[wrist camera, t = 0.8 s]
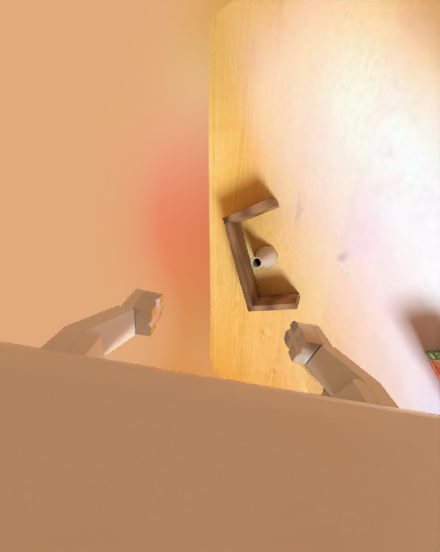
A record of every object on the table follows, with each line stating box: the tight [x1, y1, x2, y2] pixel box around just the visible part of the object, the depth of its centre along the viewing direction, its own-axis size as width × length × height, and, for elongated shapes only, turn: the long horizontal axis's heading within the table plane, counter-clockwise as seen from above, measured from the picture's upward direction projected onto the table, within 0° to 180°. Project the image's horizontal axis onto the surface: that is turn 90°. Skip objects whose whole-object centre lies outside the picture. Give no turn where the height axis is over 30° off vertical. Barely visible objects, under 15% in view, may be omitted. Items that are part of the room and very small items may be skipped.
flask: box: [251, 246, 278, 268], centre depth 48 cm, size 7×7×10 cm
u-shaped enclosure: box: [223, 198, 300, 311], centre depth 49 cm, size 14×29×8 cm, turn 19°
